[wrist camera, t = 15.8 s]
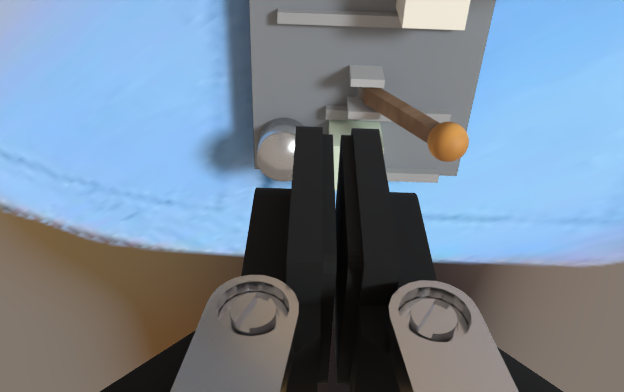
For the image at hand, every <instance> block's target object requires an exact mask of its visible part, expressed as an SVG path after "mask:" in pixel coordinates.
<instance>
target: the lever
mask: <svg viewBox="0 0 624 392" xmlns="http://www.w3.org/2000/svg"><path fill="white" fill-rule="evenodd" d="M358 99H359V100H361V101H363V103H364V104H366V105H368V106H369V107H371V108H372V109H374V110H375V111H377V112H379V113H380V114H382V115H383V116H385V117H386V118H388V119H390V120H391V121H393V122H394V123H396V124H398V125H399V126H401V127H402V128H404V129H405V130H407V131H409V132H410V133H412V134H413V135H415V136H417V137H418V138H420V139H421V140H423V141H424V142H426V143H427V144H428V149H429V151H430V153H431V154H432V155H433V156H434V157H435V158H436V159H438V160H440V161H444V162H452V161H455V160H457V159H459V158H461V157H462V156H463V155H464V154H465V152H466V150H467V148H468V144H469V139H468V135H467V132H466V131H465V129H464V128H463V127H462V126H461V125H459V124H457V123H454V122H442V123H439V122H438V121H436V120H434V119H432V118H431V117H429V116H427V115H426V114H424V113H422V112H421V111H419V110H417V109H415V108H414V107H412V106H410V105H409V104H407V103H405V102H404V101H402V100H400V99H398V98H397V97H395V96H393V95H392V94H390V93H388V92H387V91H385V90H383V89H381V88H375V87H359V95H358Z"/></svg>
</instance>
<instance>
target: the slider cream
mask: <svg viewBox="0 0 624 392" xmlns="http://www.w3.org/2000/svg"><path fill="white" fill-rule="evenodd" d="M470 1H471V0H396V10H397V13H398V16H399V19H400V23H401V26H402V28H417V29H444V30H465V26H466V21H467V16H468V11H469V6H470Z"/></svg>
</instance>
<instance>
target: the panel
mask: <svg viewBox="0 0 624 392" xmlns="http://www.w3.org/2000/svg"><path fill="white" fill-rule="evenodd" d="M495 1H496V0H471V1H470V6H469V11H468V16H467V21H466V26H465V30H444V29H417V28H402V26H401V23H400V19H399V16H398V13H397V10H396V0H249V8H250V39H251V69H252V99H253V129H254V159H255V169H259V167H258V164H257V151H258V145H259V139H260V134H261V131H262V129H263V127H264V126H265V125H266V124H267V123H268V122H270V121H272V120H274V119H277V118H290V119H294V120H296V121H298V122H299V123H301V124H302V125H303V126H307V127H323V134H328V130H329V119H330V120H358V121H380V125H381V131H382V137H383V143H384V154H383V156H384V162H385V168H386V174H387V180H388V181H405V182H434V183H438V178H439V175H445V176H457V171H458V167H459V162H460V158H459V159H457V160H455V161H452V162H444V161H440V160H438V159H436V158H435V157H434V156H433V155H432V154H431V153H430V151H429V149H428V144H427V143H426V142H424V141H423V140H421V139H420V138H418V137H417V136H415V135H413V134H412V133H410V132H409V131H407V130H405V129H404V128H402V127H401V126H399V125H398V124H396V123H394V122H393V121H391V120H390V119H388V118H386V117H385V116H383V115H382V114H380V113H379V112H377V111H375V110H374V109H372V108H371V107H369V106H368V105H366V104H364V103H363V101H361V100H359V99H358V95H359V87H375V88H381V89H383V90H385V91H387V92H388V93H390V94H392V95H393V96H395V97H397V98H398V99H400V100H402V101H404V102H405V103H407V104H409V105H410V106H412V107H414V108H415V109H417V110H419V111H421V112H422V113H424V114H426V115H427V116H429V117H431V118H432V119H434V120H436V121H438V122H439V123H442V122H454V123H457V124H459V125H461V126H462V127H463V128H464V129H465V131H467V127H468V122H469V118H470V113H471V109H472V104H473V100H474V95H475V91H476V86H477V82H478V77H479V73H480V69H481V64H482V60H483V55H484V51H485V46H486V42H487V37H488V33H489V28H490V24H491V19H492V15H493V10H494V6H495Z"/></svg>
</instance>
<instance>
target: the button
mask: <svg viewBox="0 0 624 392" xmlns="http://www.w3.org/2000/svg"><path fill="white" fill-rule="evenodd" d="M296 126H303V125H302V124H301V123H299V122H298V121H296V120H294V119H290V118H277V119H274V120H272V121H270V122H268V123H267V124H266V125H265V126H264V127H263V129H262V131H261V134H260V139H259V145H258V151H257V164H258V167H259V169H260V170H261V171H262V173H264V174H265V175H266V176H267V177H269V178H271V179H274V180H277V181H290V180H292V175H293V162H294V148H295V134H296Z"/></svg>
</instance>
